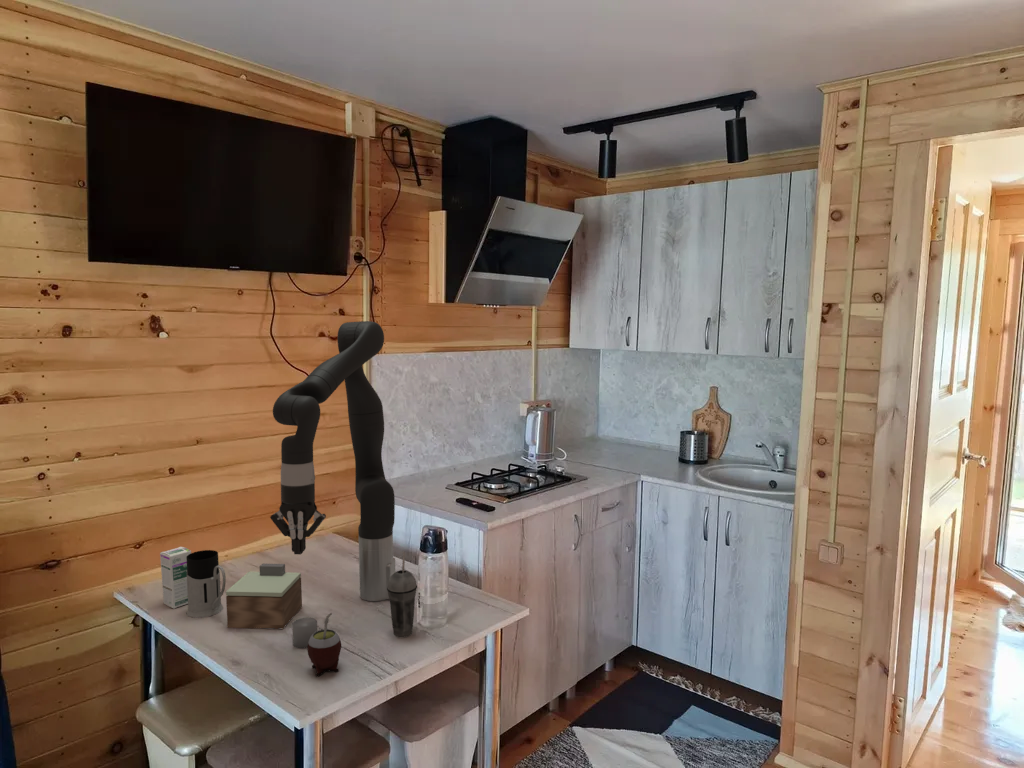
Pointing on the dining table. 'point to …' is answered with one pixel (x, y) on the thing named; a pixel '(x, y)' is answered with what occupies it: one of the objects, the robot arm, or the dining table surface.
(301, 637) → the grey rounded cylinder
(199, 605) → the glass holder
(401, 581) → the beverage cup
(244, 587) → the lid
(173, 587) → the syrup box
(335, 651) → the mate gourd
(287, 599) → the storage box
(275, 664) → the dining table surface
